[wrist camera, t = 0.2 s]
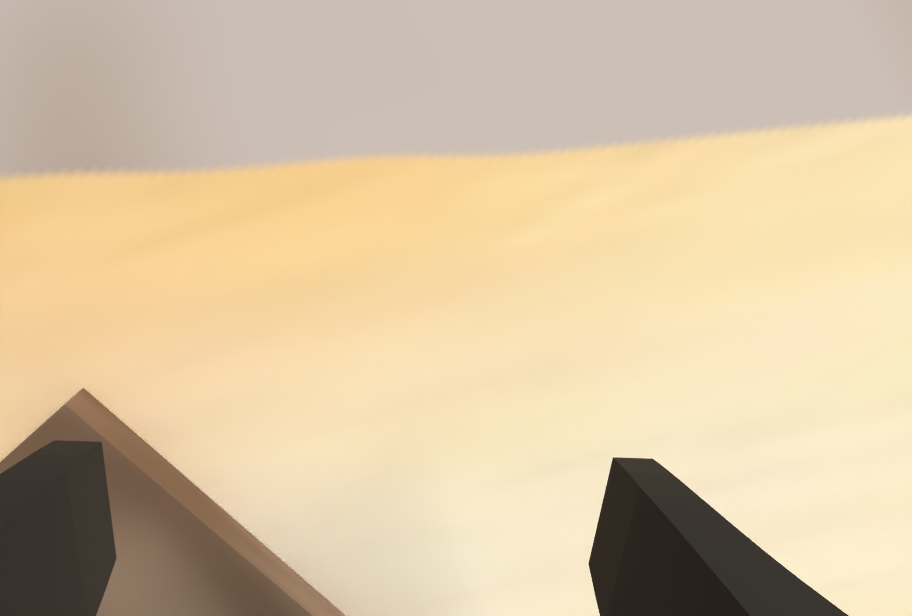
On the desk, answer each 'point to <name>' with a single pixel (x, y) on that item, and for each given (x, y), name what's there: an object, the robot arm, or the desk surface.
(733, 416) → the desk surface
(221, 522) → the plate
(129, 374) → the desk surface
